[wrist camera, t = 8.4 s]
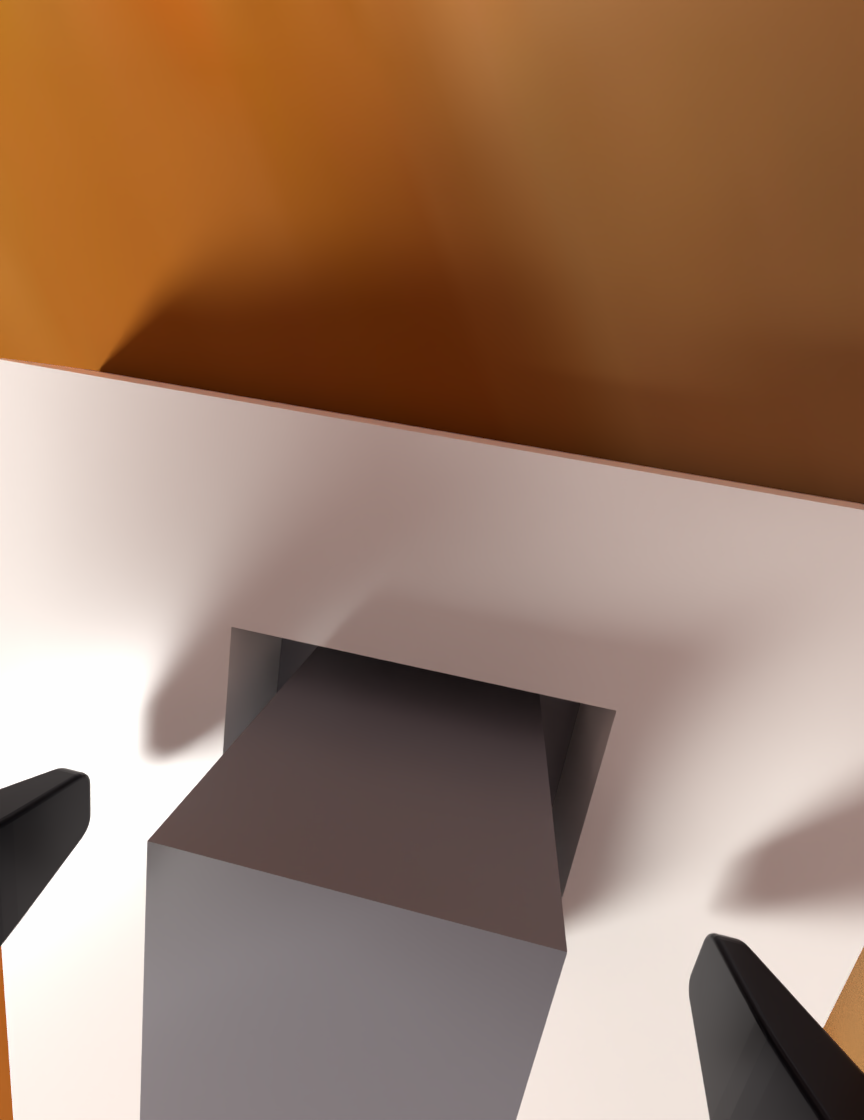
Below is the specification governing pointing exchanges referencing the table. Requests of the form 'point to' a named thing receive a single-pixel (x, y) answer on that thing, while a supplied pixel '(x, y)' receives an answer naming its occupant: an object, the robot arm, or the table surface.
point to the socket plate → (443, 646)
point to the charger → (356, 906)
